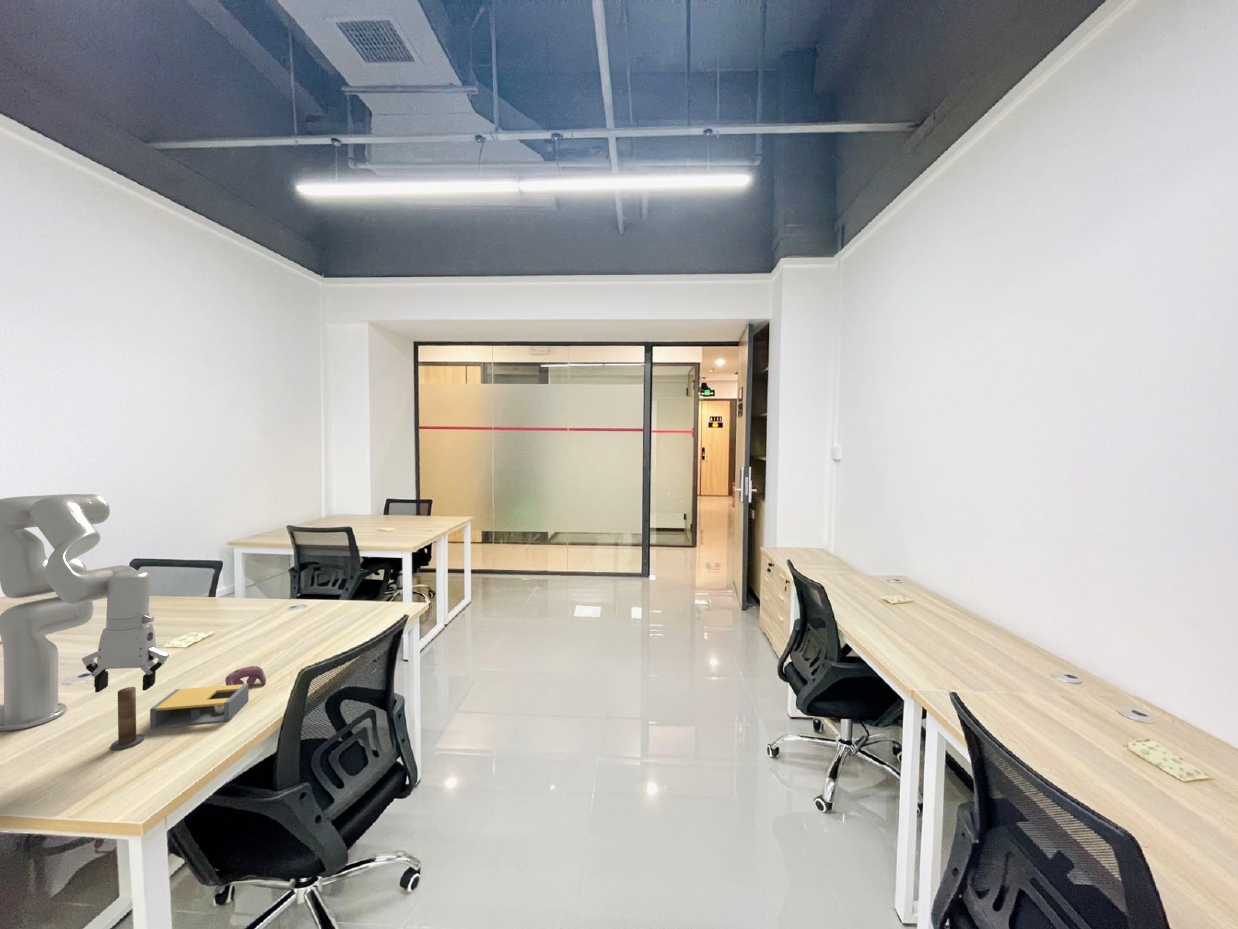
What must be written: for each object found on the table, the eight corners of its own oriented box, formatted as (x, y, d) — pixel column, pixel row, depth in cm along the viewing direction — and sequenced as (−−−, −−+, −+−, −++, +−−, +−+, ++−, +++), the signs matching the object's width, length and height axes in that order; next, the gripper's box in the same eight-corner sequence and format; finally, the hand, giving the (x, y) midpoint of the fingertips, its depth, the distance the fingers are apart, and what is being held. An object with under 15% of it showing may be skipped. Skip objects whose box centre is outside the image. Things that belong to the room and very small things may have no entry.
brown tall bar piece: (124, 738, 126) (123, 687, 126) (139, 737, 127) (138, 686, 127) (114, 745, 123) (114, 693, 123) (130, 744, 124) (129, 692, 124)
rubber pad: (104, 751, 121) (104, 749, 121) (122, 737, 127) (122, 736, 127) (134, 748, 123) (134, 746, 123) (150, 734, 129) (150, 733, 129)
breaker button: (211, 713, 138) (211, 708, 138) (218, 707, 142) (218, 701, 142) (226, 712, 139) (226, 706, 139) (233, 706, 143) (233, 700, 143)
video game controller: (263, 686, 160) (260, 663, 161) (268, 683, 157) (264, 661, 159) (225, 697, 152) (222, 674, 154) (229, 695, 149) (226, 671, 151)
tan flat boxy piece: (149, 728, 132) (150, 709, 132) (175, 707, 142) (175, 689, 142) (229, 721, 136) (229, 702, 136) (248, 701, 147) (248, 684, 147)
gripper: (178, 616, 130) (175, 680, 131) (96, 616, 126) (94, 683, 127) (159, 626, 123) (156, 694, 124) (72, 627, 119) (70, 698, 119)
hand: (125, 688), depth 125 cm, fingers open, 9 cm apart
